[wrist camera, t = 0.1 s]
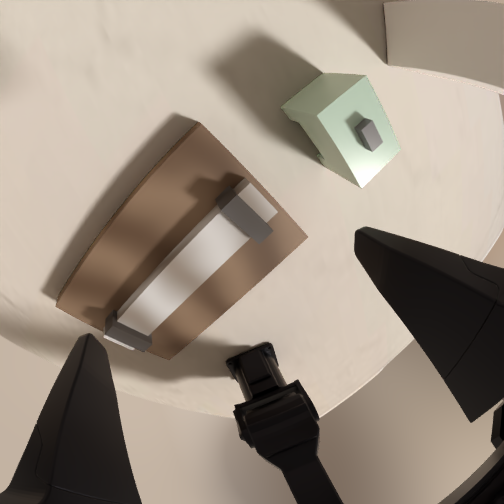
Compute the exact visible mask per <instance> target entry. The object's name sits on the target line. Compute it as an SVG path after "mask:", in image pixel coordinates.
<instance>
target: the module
mask: <svg viewBox="0 0 504 504" xmlns="http://www.w3.org/2000/svg"><path fill="white" fill-rule="evenodd" d="M281 109H282V110H283V111H284V112H285V114H286V115H287V116H288V117H289V119H290V120H292V121H296V122H299V124H300V125H301V126H302V128H303V129H304V130H305V132H306V133H307V135H308V136H309V137H310V139H311V140H312V142H313V143H314V144H315V146H316V147H317V149H318V150H319V152H320V153H319V154H318V155H317V157H318V158H319V160H320V161H321V163H322V164H323V166H324V167H326V168H327V169H329V170H331V171H333V172H334V173H336V174H338V175H340V176H341V177H343V178H345V179H346V180H348V181H350V182H351V183H353V184H355V185H356V186H358V187H360V188H362V187H364V186H365V185H366V184H367V183H368V182H369V181H370V180H371V179H372V178H373V177H374V176H375V175H376V174H377V173H378V172H379V171H380V170H381V169H382V168H383V167H384V166H385V165H386V164H387V163H388V162H389V161H390V160H391V159H392V158H393V157H394V156H395V155H396V154H397V153H398V152H399V151H400V150H401V148H400V145H399V143H398V141H397V138H396V136H395V133H394V131H393V129H392V126H391V124H390V122H389V120H388V118H387V115H386V113H385V111H384V109H383V107H382V105H381V103H380V101H379V99H378V97H377V95H376V93H375V91H374V89H373V87H372V85H371V83H370V82H369V80H368V78H367V76H366V75H356V74H340V73H323V74H321V75H320V76H319V77H317V78H316V79H315V80H313V81H312V82H311V83H310V84H308V85H307V86H306V87H304V88H303V89H302V90H301V91H299V92H298V93H297V94H296V95H295V96H293V97H292V98H291V99H290V100H288V101H287V102H286V103H285V104H284V105H282V106H281Z"/></svg>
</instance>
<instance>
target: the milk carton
mask: <svg viewBox="0 0 504 504" xmlns="http://www.w3.org/2000/svg"><path fill="white" fill-rule="evenodd" d="M383 5H384V14H385V25H386V38H387V57H388V66H392V67H396V68H401V69H405V70H409V71H414V72H418V73H421V74H425V75H429V76H435V77H440V78H445V79H449V80H454V81H458V82H462V83H466V84H470V85H474V86H477V87H481V88H484V89H487V90H491V91H494V92H497V93H500V94H503V95H504V4H503V3H496V2H488V1H478V0H404V1H394V2H386V3H383Z"/></svg>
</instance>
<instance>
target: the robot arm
mask: <svg viewBox="0 0 504 504" xmlns="http://www.w3.org/2000/svg"><path fill="white" fill-rule="evenodd" d="M354 251H355V255H356V257H357V259H358V260H359V262H360V263H361V265H362V266H363V268H364V269H365V271H366V272H367V274H368V275H369V277H370V278H371V280H372V281H373V283H374V285H375V286H376V288H377V289H378V291H379V292H380V293H381V294H382V296H383V297H384V298H385V300H386V301H387V302H388V303H389V305H390V306H391V307H392V309H393V310H394V311H395V313H396V314H397V315H398V316H399V318H400V319H401V320H402V322H403V323H404V324H405V326H406V327H407V328H408V330H409V331H410V333H411V334H412V335H413V337H414V338H415V339H416V341H417V342H418V344H419V345H420V346H421V348H422V349H423V351H424V352H425V353H426V355H427V356H428V358H429V359H430V361H431V362H432V363H433V365H434V366H435V368H436V369H437V371H438V372H439V374H440V375H441V377H442V378H443V380H444V381H445V383H446V385H447V386H448V388H449V389H450V391H451V392H452V394H453V396H454V397H455V399H456V400H457V402H458V403H459V405H460V406H461V408H462V410H463V412H464V413H465V415H466V417H467V418H468V420H469V421H470V422H471V423H472V422H473V421H475V420H476V419H477V418H478V417H480V416H481V415H483V414H484V413H485V412H487V411H488V410H489V409H491V408H492V407H493V406H494V405H496V404H497V403H498V402H499V401H500V400H501V399H502V400H503V402H502V403H501V404H500V405H499V406H498V408H497V409H496V410H495V411H494V416H493V427H492V435H491V442H492V444H493V445H494V447H495V448H496V450H495V451H494V452H493V454H492V455H491V456H490V457H489V458H488V459H487V460H486V461H485V462H484V463H483V464H482V465H481V466H480V467H479V468H478V469H477V470H476V471H475V472H474V473H473V474H472V475H471V476H470V477H469V478H468V479H467V480H466V481H465V482H463V483H462V484H461V485H460V486H459V487H458V488H457V489H456V490H454V491H453V492H452V493H451V494H450V495H449V496H447V497H446V498H445V499H444V500H442V501H441V502H440V503H439V504H504V268H500V267H497V266H493V265H490V264H486V263H483V262H480V261H477V260H474V259H471V258H468V257H465V256H462V255H459V254H456V253H453V252H450V251H447V250H444V249H441V248H438V247H435V246H431V245H428V244H425V243H422V242H419V241H415V240H412V239H409V238H405V237H402V236H399V235H395V234H392V233H388V232H385V231H381V230H378V229H374V228H371V227H363V228H360V229H358V230H356V232H355V242H354ZM226 365H227V366H228V368H229V370H230V371H231V373H232V375H233V376H234V378H235V379H236V381H237V382H238V383H239V385H240V388H241V390H242V393H243V395H244V398H245V401H246V402H244V403H241V404H236V405H234V406H235V410H234V411H233V413H234V416H235V419H236V421H237V425H238V431H239V436H240V438H241V440H244V441H246V442H247V444H249V446H250V447H251V448H254V447H255V448H256V450H257V453H258V454H259V455H260V456H261V457H262V458H263V459H264V460H266V461H267V462H268V463H270V464H271V465H273V466H274V467H276V468H277V469H279V470H281V471H282V472H283V474H284V477H285V479H286V481H287V483H288V485H289V487H290V489H291V491H292V494H293V495H294V498H295V500H296V502H297V504H343V502H342V500H341V499H340V497H339V495H338V493H337V492H336V489H335V488H334V486H333V484H332V482H331V480H330V479H329V477H328V475H327V473H326V471H325V469H324V468H323V466H322V464H321V462H320V460H319V458H318V449H319V440H320V437H319V436H320V434H319V426H318V424H317V421H319V416H318V413H317V411H316V409H315V407H314V405H313V403H312V401H311V399H310V398H309V396H308V395H307V393H306V391H305V390H304V388H303V387H302V385H301V384H300V382H299V380H296V381H294V382H293V383H290V384H288V385H287V384H286V382H285V380H284V378H283V376H282V374H281V372H280V370H279V368H278V366H279V365H278V362H277V358H276V355H275V351H274V348H273V345H272V344H271V343H268V344H266V345H263V346H261V347H259V348H256V349H254V350H251V351H249V352H246V353H244V354H241V355H239V356H236V357H234V358H231V359H228V360H227V361H226ZM0 504H142V502H141V499H140V496H139V493H138V490H137V487H136V484H135V480H134V476H133V473H132V469H131V465H130V462H129V458H128V453H127V449H126V445H125V440H124V436H123V431H122V426H121V420H120V414H119V409H118V402H117V397H116V391H115V387H114V383H113V379H112V374H111V370H110V365H109V360H108V355H107V352H106V349H105V348H104V347H103V346H102V344H101V343H100V342H99V341H98V340H97V339H96V338H95V337H94V336H93V335H92V334H90V333H88V334H85V335H82V336H80V337H79V338H78V340H77V342H76V343H75V345H74V347H73V349H72V351H71V353H70V354H69V356H68V358H67V360H66V362H65V364H64V366H63V367H62V370H61V371H60V373H59V375H58V377H57V379H56V381H55V383H54V385H53V387H52V389H51V391H50V394H49V396H48V398H47V400H46V402H45V404H44V406H43V409H42V411H41V413H40V415H39V418H38V420H37V424H36V425H35V427H34V430H33V432H32V434H31V437H30V439H29V442H28V444H27V446H26V449H25V451H24V453H23V455H22V458H21V460H20V462H19V464H18V467H17V469H16V471H15V473H14V476H13V478H12V481H11V483H10V485H9V486H8V487H7V489H6V490H5V491H3V492H2V493H0Z"/></svg>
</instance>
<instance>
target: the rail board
mask: <svg viewBox="0 0 504 504" xmlns="http://www.w3.org/2000/svg"><path fill="white" fill-rule="evenodd" d="M307 238H308V236H307V235H306V234H305V233H304V231H303V230H302V229H301V228H300V227H299V226H298V225H297V224H296V222H295V221H294V220H293V219H292V218H291V217H290V216H289V215H288V213H287V212H286V211H285V210H284V209H283V208H282V207H281V206H280V205H279V204H278V202H277V201H276V200H275V199H274V198H273V197H272V196H271V195H270V194H269V193H268V192H267V191H266V189H265V188H264V187H263V186H262V185H261V184H260V183H259V182H258V181H257V180H256V179H255V178H254V177H253V176H252V175H251V174H250V172H249V171H248V170H247V169H246V168H245V167H244V166H243V165H242V164H241V163H240V162H239V161H238V160H237V159H236V158H235V157H234V156H233V155H232V154H231V153H230V152H229V151H228V150H227V149H226V148H225V147H224V146H223V145H222V144H221V143H220V142H219V141H218V140H217V139H216V138H215V137H214V136H213V135H212V134H211V133H210V132H209V131H208V130H207V129H206V128H205V127H204V126H203V125H202V124H201V123H200V122H198V123H196V124H195V125H194V126H193V127H192V128H191V129H190V130H189V131H188V132H187V133H186V134H185V135H184V136H183V137H182V138H181V139H180V140H179V141H178V142H177V143H176V144H175V145H174V146H173V147H172V148H171V149H170V150H169V152H168V153H167V154H166V155H165V156H164V157H163V158H162V159H161V160H160V161H159V162H158V163H157V164H156V165H155V167H154V168H153V169H152V170H151V171H150V172H149V173H148V174H147V176H146V177H145V178H144V179H143V180H142V181H141V182H140V184H139V185H138V186H137V187H136V188H135V189H134V191H133V192H132V193H131V194H130V195H129V197H128V198H127V199H126V200H125V202H124V203H123V204H122V205H121V206H120V208H119V209H118V210H117V212H116V213H115V214H114V215H113V217H112V218H111V219H110V221H109V222H108V223H107V224H106V226H105V227H104V228H103V230H102V231H101V232H100V234H99V235H98V237H97V238H96V239H95V241H94V242H93V244H92V245H91V246H90V248H89V249H88V251H87V252H86V254H85V255H84V256H83V258H82V259H81V261H80V262H79V264H78V265H77V267H76V268H75V270H74V271H73V273H72V275H71V276H70V278H69V279H68V281H67V282H66V284H65V286H64V287H63V289H62V291H61V292H60V294H59V296H58V299H57V303H56V307H57V308H59V309H61V310H63V311H64V312H66V313H68V314H70V315H72V316H73V317H75V318H77V319H79V320H81V321H83V322H85V323H87V324H89V325H91V326H93V327H95V328H97V329H99V330H101V331H103V338H106V339H108V340H110V341H112V342H114V343H116V344H119V345H121V346H123V347H126V348H128V349H130V350H134V349H137V350H140V351H142V352H145V351H147V352H150V353H152V354H155V355H157V356H160V357H162V358H165V359H167V360H170V359H171V358H172V357H174V356H175V355H176V354H177V353H178V352H180V351H181V350H182V349H183V348H184V347H185V346H187V345H188V344H189V343H190V342H191V341H192V340H194V339H195V338H196V337H197V336H198V335H199V334H201V333H202V332H203V331H204V330H205V329H206V328H208V327H209V326H210V325H211V324H212V323H213V322H214V321H216V320H217V319H218V318H219V317H220V316H221V315H222V314H224V313H225V312H226V311H227V310H228V309H229V308H230V307H232V306H233V305H234V304H235V303H236V302H237V301H238V300H239V299H241V298H242V297H243V296H244V295H245V294H246V293H247V292H248V291H250V290H251V289H252V288H253V287H254V286H255V285H256V284H257V283H259V282H260V281H261V280H262V279H263V278H264V277H265V276H266V275H267V274H268V273H270V272H271V271H272V270H273V269H274V268H275V267H276V266H277V265H278V264H280V263H281V262H282V261H283V260H284V259H285V258H286V257H287V256H288V255H289V254H290V253H292V252H293V251H294V250H295V249H296V248H297V247H298V246H299V245H300V244H301V243H302V242H303V241H305V240H306V239H307Z"/></svg>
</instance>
